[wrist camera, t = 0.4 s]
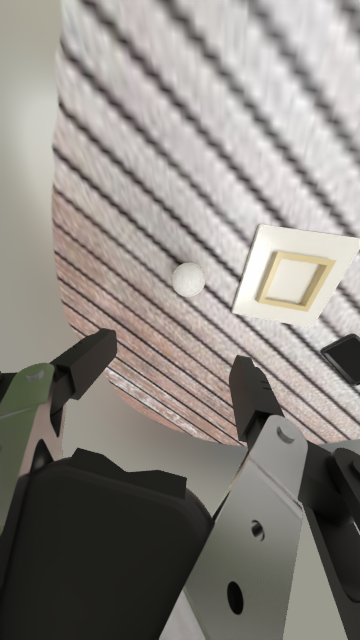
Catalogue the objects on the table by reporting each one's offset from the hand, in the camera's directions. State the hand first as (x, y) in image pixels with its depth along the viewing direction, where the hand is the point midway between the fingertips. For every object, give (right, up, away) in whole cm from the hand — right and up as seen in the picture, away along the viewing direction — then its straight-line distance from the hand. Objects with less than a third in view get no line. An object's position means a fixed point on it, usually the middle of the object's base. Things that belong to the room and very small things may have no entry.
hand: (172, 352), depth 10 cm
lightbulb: (+3, +13, +25) cm, 29 cm away
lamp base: (+23, +11, +23) cm, 34 cm away
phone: (+44, -8, +28) cm, 52 cm away
